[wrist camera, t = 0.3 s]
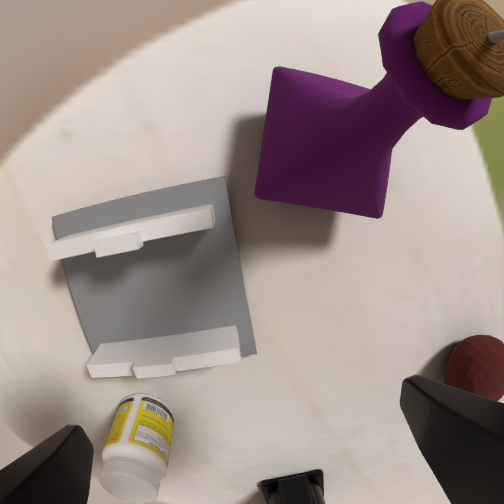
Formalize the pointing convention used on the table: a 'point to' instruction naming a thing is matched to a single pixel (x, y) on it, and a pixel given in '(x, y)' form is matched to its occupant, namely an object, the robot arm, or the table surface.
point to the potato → (477, 367)
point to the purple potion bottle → (379, 107)
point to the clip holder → (157, 281)
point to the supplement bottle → (137, 449)
